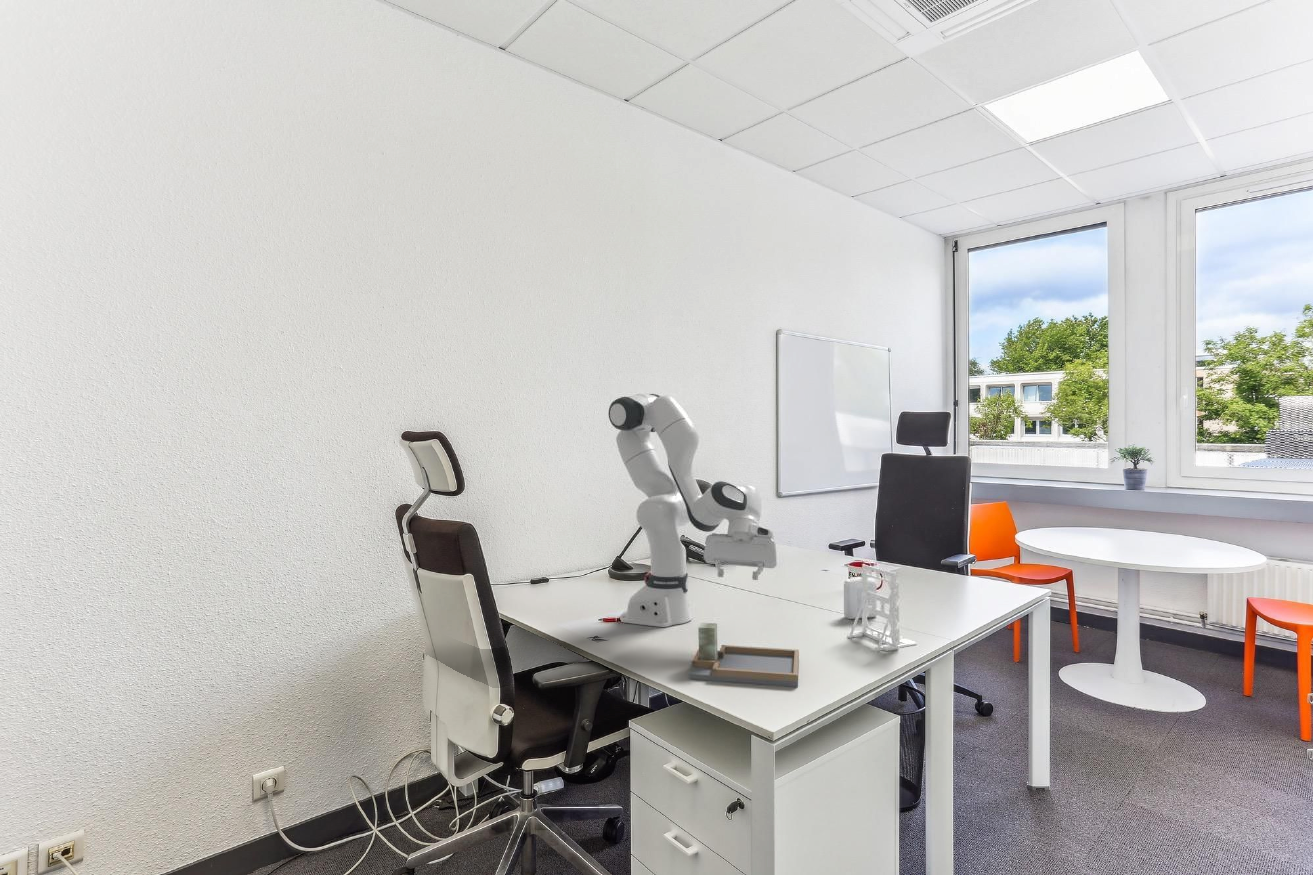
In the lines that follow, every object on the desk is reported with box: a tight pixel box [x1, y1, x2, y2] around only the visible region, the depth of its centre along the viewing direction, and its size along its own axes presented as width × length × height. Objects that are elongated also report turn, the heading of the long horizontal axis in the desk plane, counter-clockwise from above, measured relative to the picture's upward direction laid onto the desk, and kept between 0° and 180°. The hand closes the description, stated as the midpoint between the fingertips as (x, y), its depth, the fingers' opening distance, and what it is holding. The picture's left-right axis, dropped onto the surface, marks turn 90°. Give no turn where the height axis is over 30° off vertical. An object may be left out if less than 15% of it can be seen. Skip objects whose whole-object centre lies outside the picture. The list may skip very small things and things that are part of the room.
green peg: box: [697, 622, 718, 661], centre depth 155 cm, size 4×4×9 cm
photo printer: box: [843, 576, 878, 620], centre depth 194 cm, size 10×4×12 cm, turn 103°
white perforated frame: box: [846, 563, 918, 652], centre depth 172 cm, size 14×14×20 cm
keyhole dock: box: [688, 644, 800, 688], centre depth 153 cm, size 25×17×3 cm
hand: (737, 577), depth 170 cm, fingers open, 8 cm apart
